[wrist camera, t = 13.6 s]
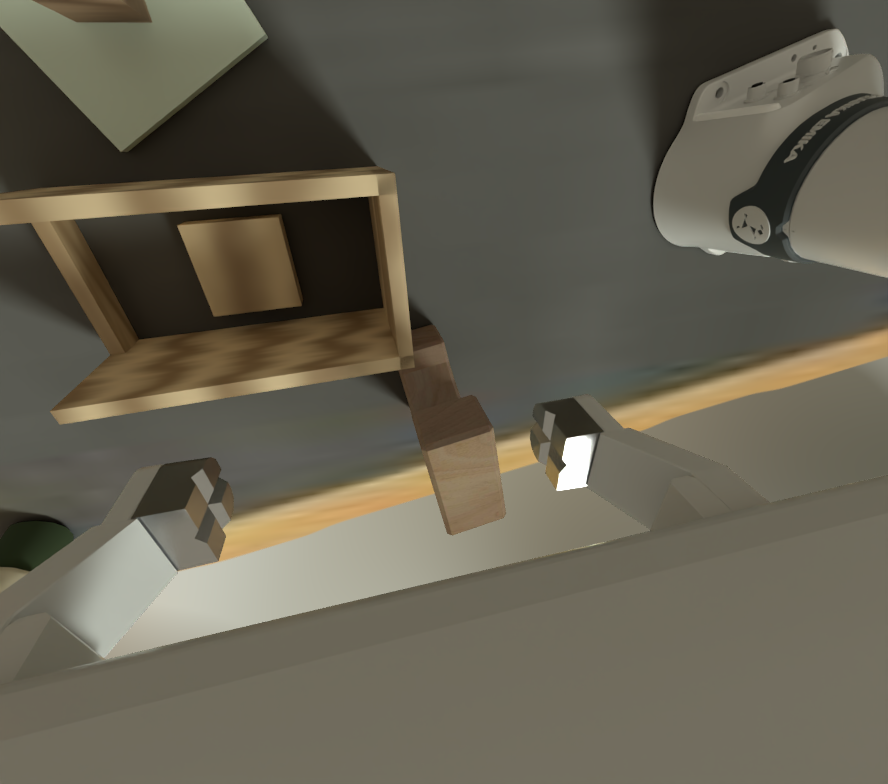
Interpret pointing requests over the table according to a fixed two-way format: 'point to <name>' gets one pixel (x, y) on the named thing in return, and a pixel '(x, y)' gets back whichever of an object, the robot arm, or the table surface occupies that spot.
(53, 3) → the walnut block
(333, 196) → the oak cubby
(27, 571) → the character mug
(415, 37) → the table surface
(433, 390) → the decorative block
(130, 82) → the sage board
